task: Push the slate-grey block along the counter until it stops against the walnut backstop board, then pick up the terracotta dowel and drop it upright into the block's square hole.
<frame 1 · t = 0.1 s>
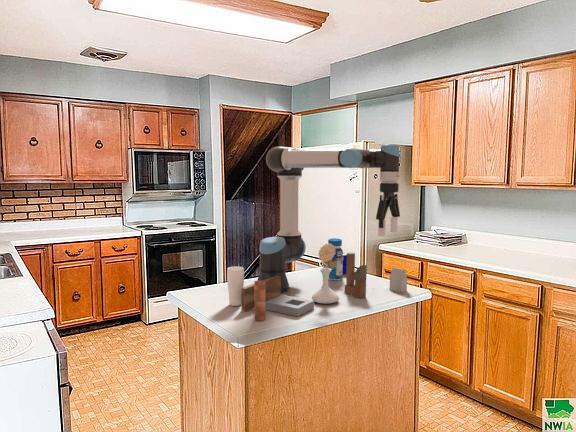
hand: (387, 234, 185), 28 cm above the countertop, tool pointing down, fingers open, 13 cm apart
tea bag: (398, 290, 203), on the countertop
dowel: (260, 319, 163), on the countertop
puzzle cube: (335, 272, 238), on the countertop
drinking glass: (235, 305, 181), on the countertop
backstop board: (262, 303, 182), on the countertop
beverage bottle: (334, 279, 224), on the countertop
wooden block: (354, 295, 195), on the countertop
holed block: (289, 305, 174), point 2 cm above the countertop, slide at 0.0 cm
flower in vase: (326, 302, 184), on the countertop
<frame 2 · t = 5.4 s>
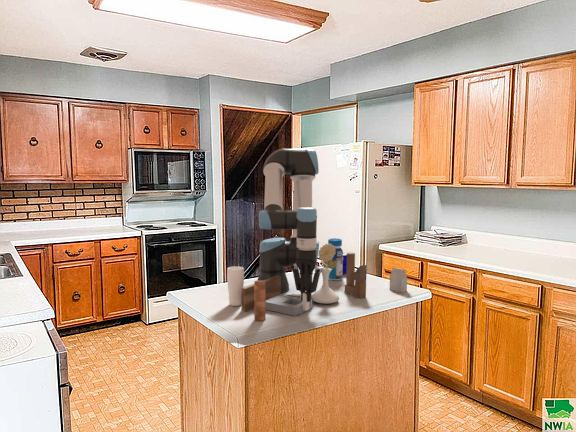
hand: (305, 309, 171), 1 cm above the countertop, tool pointing down, fingers closed
holed block: (287, 304, 175), point 2 cm above the countertop, slide at 1.0 cm, touching gripper
everything else where it was.
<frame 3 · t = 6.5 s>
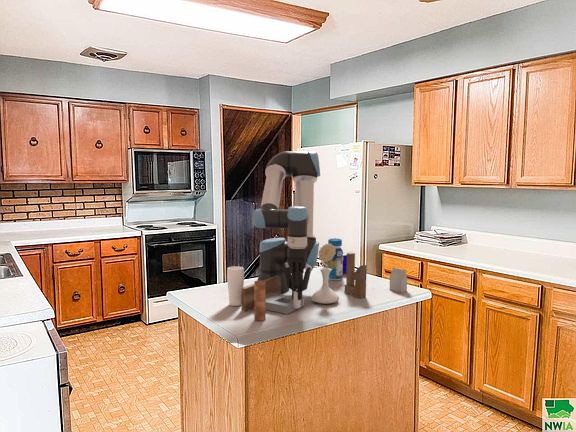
hand: (297, 307, 173), 1 cm above the countertop, tool pointing down, fingers closed
holed block: (279, 302, 177), point 2 cm above the countertop, slide at 4.9 cm, touching gripper
everything else where it was.
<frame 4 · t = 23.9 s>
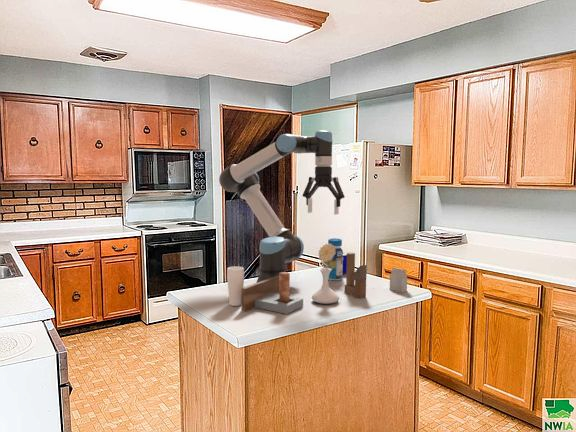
hand: (322, 213, 202), 35 cm above the countertop, tool pointing down, fingers open, 13 cm apart
dowel: (284, 308, 176), resting in holed block
holed block: (279, 302, 177), point 2 cm above the countertop, slide at 5.0 cm, touching backstop board
everything else where it was.
at the end: holed block slide at 5.0 cm; dowel 0.0 cm from the target spot, resting in holed block; dowel tilted 0° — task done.
